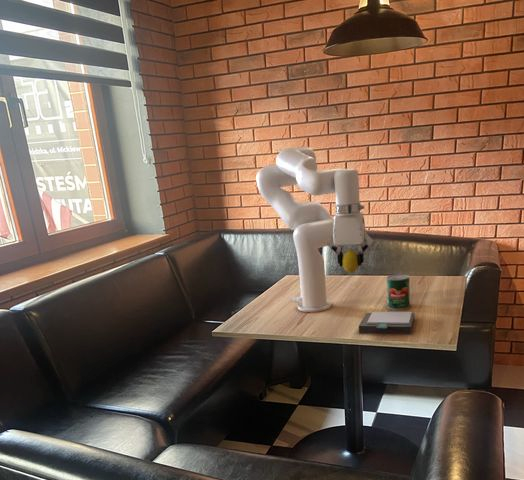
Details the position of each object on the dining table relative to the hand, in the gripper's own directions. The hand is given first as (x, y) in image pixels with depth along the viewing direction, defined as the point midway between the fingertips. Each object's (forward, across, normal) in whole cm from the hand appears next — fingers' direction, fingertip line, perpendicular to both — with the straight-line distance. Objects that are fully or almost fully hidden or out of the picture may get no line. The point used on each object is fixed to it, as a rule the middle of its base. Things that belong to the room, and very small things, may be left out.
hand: (350, 264), depth 177 cm
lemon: (+3, 0, 0) cm, 3 cm away
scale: (+20, -12, +7) cm, 24 cm away
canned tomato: (+19, -13, -16) cm, 28 cm away
